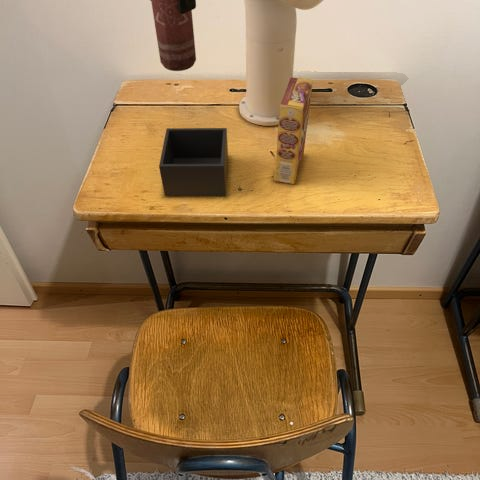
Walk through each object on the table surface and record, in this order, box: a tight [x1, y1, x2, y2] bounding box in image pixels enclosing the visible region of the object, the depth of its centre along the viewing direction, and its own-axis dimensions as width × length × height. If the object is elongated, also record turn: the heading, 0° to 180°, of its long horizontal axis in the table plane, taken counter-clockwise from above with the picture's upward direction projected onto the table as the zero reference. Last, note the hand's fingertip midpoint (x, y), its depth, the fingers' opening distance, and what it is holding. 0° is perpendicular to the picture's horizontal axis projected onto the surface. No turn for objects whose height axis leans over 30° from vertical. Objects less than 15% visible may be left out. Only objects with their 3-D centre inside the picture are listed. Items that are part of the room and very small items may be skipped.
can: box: [151, 0, 197, 72], centre depth 74 cm, size 6×6×14 cm
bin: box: [158, 127, 229, 197], centre depth 85 cm, size 11×11×7 cm
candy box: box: [273, 77, 314, 185], centre depth 82 cm, size 9×4×15 cm, turn 165°
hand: (172, 3), depth 72 cm, fingers closed on can, 6 cm apart
